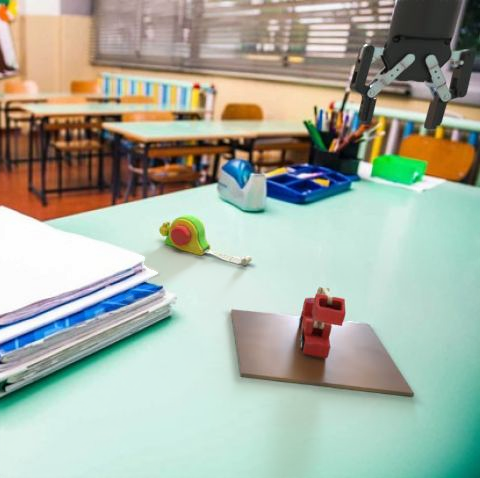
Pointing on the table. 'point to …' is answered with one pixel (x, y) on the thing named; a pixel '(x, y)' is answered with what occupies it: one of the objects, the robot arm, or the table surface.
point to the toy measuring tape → (193, 238)
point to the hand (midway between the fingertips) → (397, 126)
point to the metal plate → (312, 367)
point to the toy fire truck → (320, 322)
